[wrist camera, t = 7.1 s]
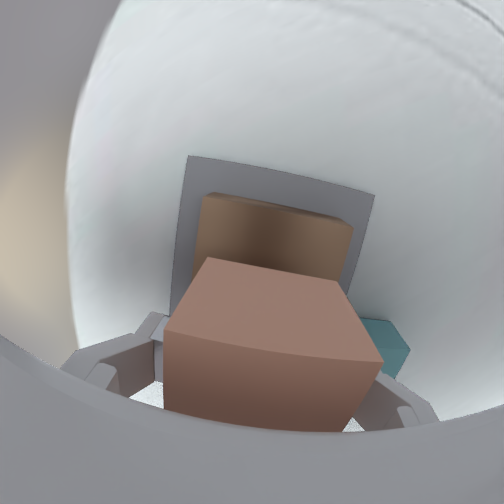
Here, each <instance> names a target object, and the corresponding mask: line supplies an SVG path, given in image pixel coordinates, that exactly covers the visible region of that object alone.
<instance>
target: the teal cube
mask: <svg viewBox="0 0 504 504" xmlns="http://www.w3.org/2000/svg"><path fill="white" fill-rule="evenodd" d="M359 319H360V320H361V322H362V324H363V325H364V327H365V329H366V331H367V332H368V334H369V336H370V338H371V339H372V341H373V343H374V345H375V346H376V348H377V350H378V352H379V353H380V355H381V357H382V359H383V361H384V364H383V366H382V367H381V371H382V373H383V374H387V375H389V376H390V377H392V378H393V379H395V377H396V375H397V374H398V372H399V370H400V368H401V367H402V365H403V363H404V361H405V359H406V357H407V356H408V354H409V352H410V348H409V347H408V345H407V344H406V342H405V341H404V340H403V338H402V337H401V335H400V334H399V333H398V331H397V330H396V328H395V327H394V326H393V324H392V323H391V321H382V320H373V319H365V318H359Z"/></svg>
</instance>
